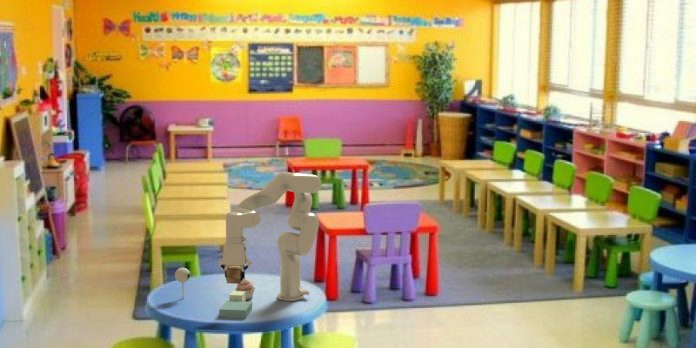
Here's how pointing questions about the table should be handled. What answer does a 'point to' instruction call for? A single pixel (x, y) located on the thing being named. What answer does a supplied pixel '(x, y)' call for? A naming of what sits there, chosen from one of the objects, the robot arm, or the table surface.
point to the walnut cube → (234, 275)
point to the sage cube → (237, 296)
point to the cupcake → (246, 288)
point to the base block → (235, 309)
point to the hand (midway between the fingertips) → (234, 279)
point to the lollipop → (182, 277)
